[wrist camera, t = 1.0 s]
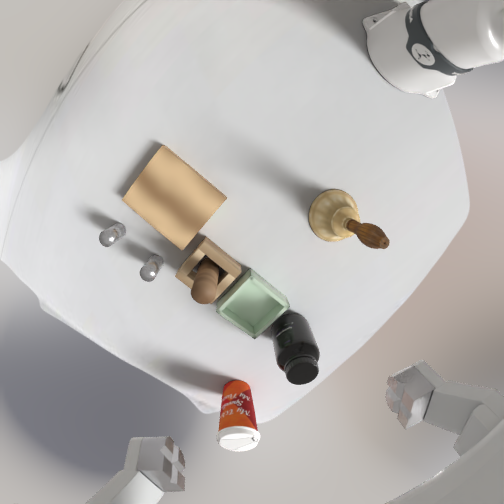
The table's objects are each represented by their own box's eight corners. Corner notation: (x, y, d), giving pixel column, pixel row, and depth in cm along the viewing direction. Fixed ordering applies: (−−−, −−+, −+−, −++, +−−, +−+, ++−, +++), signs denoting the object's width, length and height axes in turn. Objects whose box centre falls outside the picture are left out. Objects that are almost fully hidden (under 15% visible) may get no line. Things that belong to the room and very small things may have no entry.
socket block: (206, 236, 41) (204, 242, 38) (240, 265, 43) (241, 272, 40) (178, 268, 42) (174, 276, 39) (212, 295, 44) (211, 304, 41)
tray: (250, 267, 43) (251, 275, 40) (286, 297, 45) (290, 306, 42) (216, 302, 44) (215, 311, 42) (253, 329, 47) (254, 339, 44)
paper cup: (246, 372, 50) (250, 428, 37) (260, 394, 52) (267, 447, 39) (211, 382, 50) (207, 437, 37) (227, 403, 53) (227, 455, 39)
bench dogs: (117, 220, 39) (104, 227, 34) (166, 261, 42) (158, 273, 37) (110, 231, 40) (96, 239, 35) (158, 271, 42) (149, 284, 37)
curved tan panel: (166, 146, 37) (162, 145, 34) (227, 196, 40) (226, 198, 37) (127, 197, 39) (121, 200, 36) (185, 246, 42) (182, 250, 39)
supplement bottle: (278, 308, 46) (291, 352, 34) (314, 316, 47) (334, 359, 35) (265, 339, 47) (272, 386, 36) (299, 346, 48) (314, 391, 37)
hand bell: (305, 192, 40) (346, 211, 25) (355, 186, 40) (414, 202, 25) (311, 245, 42) (349, 289, 27) (358, 237, 42) (412, 274, 27)
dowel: (207, 253, 42) (201, 276, 33) (223, 266, 43) (221, 292, 34) (195, 267, 42) (185, 293, 34) (210, 280, 43) (205, 308, 35)
